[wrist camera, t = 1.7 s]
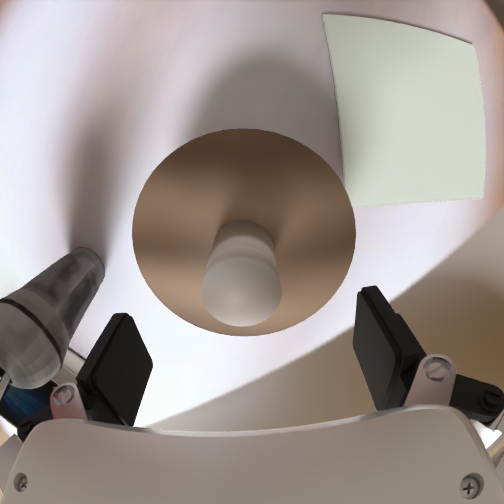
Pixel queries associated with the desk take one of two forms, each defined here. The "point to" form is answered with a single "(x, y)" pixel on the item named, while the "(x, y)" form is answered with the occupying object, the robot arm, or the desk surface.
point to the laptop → (37, 392)
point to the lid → (243, 232)
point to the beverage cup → (45, 319)
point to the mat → (406, 112)
